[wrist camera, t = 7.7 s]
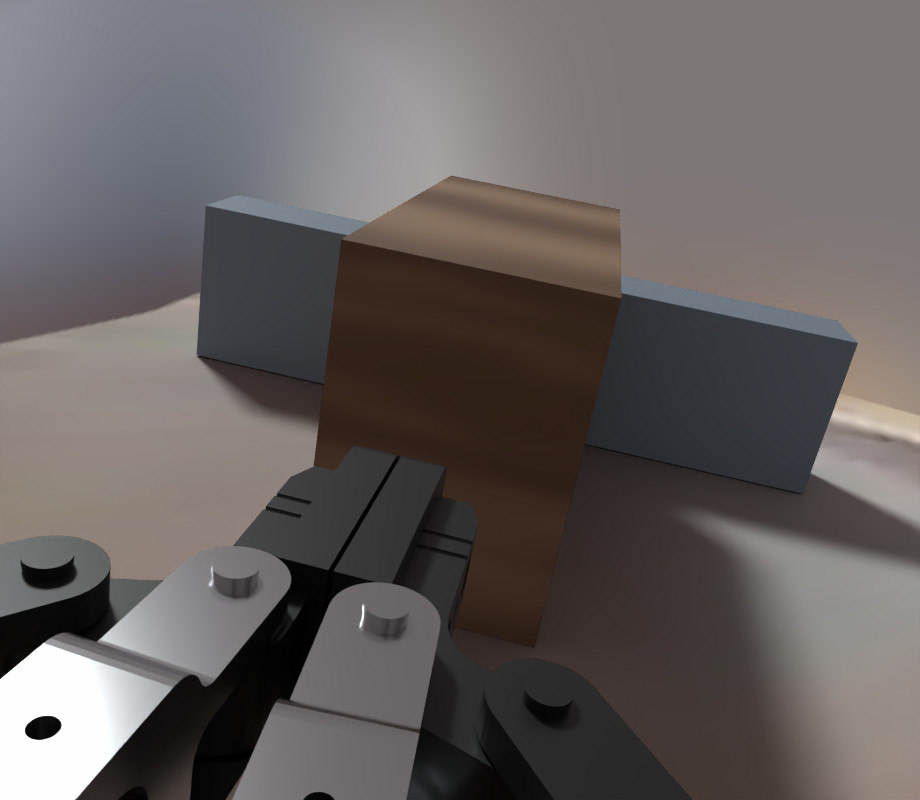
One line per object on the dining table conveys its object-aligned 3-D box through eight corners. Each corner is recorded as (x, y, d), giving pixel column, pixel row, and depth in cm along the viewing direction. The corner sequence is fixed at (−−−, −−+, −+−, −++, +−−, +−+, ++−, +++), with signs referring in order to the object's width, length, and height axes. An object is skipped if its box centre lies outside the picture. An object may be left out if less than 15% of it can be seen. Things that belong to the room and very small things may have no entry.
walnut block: (532, 651, 21) (621, 298, 18) (298, 592, 22) (341, 239, 18) (563, 443, 33) (619, 209, 30) (412, 408, 34) (450, 175, 30)
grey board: (802, 493, 32) (858, 342, 30) (196, 354, 34) (205, 205, 32) (787, 460, 35) (837, 320, 33) (228, 334, 37) (238, 195, 35)
